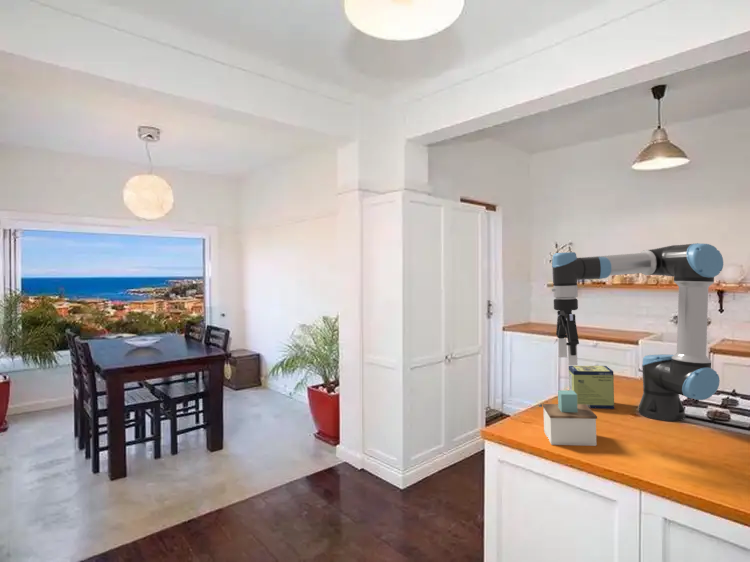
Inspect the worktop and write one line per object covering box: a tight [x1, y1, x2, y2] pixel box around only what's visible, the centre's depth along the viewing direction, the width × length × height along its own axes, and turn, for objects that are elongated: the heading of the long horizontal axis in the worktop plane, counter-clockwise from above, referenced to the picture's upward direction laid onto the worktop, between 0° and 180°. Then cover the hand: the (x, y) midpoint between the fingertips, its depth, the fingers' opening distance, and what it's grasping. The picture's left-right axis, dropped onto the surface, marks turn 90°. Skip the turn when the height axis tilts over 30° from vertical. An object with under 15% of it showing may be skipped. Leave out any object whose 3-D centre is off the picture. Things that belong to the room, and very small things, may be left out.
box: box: [538, 403, 597, 447], centre depth 156 cm, size 17×12×10 cm
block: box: [557, 389, 578, 412], centre depth 155 cm, size 5×5×6 cm
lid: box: [542, 403, 598, 420], centre depth 155 cm, size 14×13×1 cm
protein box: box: [568, 365, 615, 410], centre depth 191 cm, size 10×16×16 cm
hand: (567, 360), depth 155 cm, fingers open, 13 cm apart
